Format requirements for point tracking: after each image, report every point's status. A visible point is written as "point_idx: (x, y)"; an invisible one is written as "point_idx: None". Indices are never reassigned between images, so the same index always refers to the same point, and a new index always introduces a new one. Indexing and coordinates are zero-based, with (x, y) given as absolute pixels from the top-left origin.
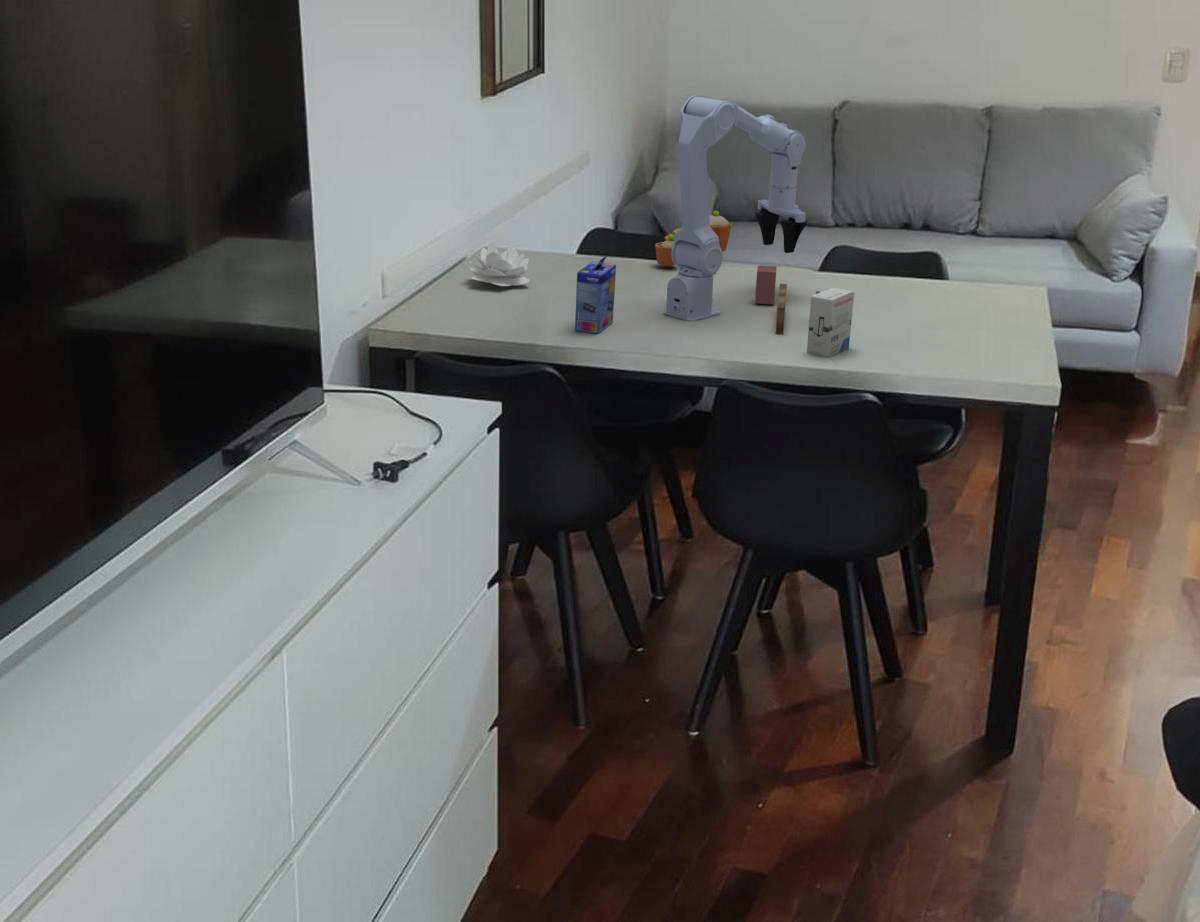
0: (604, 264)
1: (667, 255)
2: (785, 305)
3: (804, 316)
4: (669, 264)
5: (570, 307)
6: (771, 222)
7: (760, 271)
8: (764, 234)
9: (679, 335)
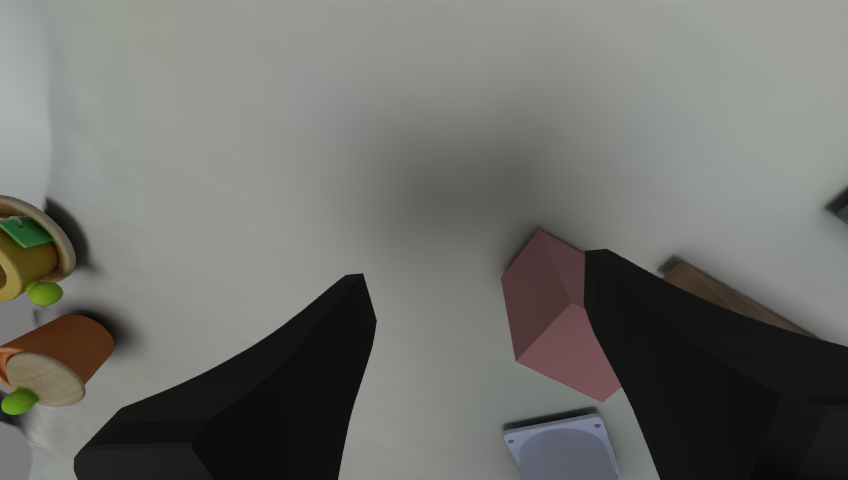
0: None
1: (92, 370)
2: (705, 277)
3: (748, 209)
4: (112, 342)
5: None
6: (308, 418)
7: (612, 393)
8: (358, 381)
9: None
